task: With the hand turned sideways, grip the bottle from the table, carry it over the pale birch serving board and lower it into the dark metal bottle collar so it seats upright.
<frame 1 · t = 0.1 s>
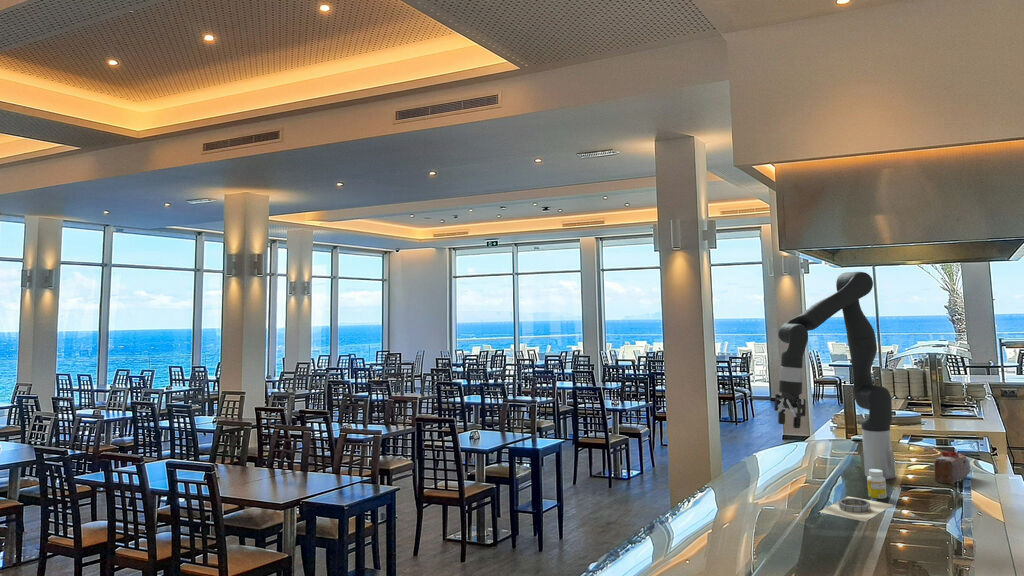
hand: (788, 426, 236), 22 cm above the counter, tool pointing down, fingers open, 8 cm apart
supplement bottle: (877, 500, 219), on the counter
food item: (952, 480, 235), on the counter
bottle collar: (854, 508, 209), resting on serving board
serving board: (856, 512, 209), on the counter
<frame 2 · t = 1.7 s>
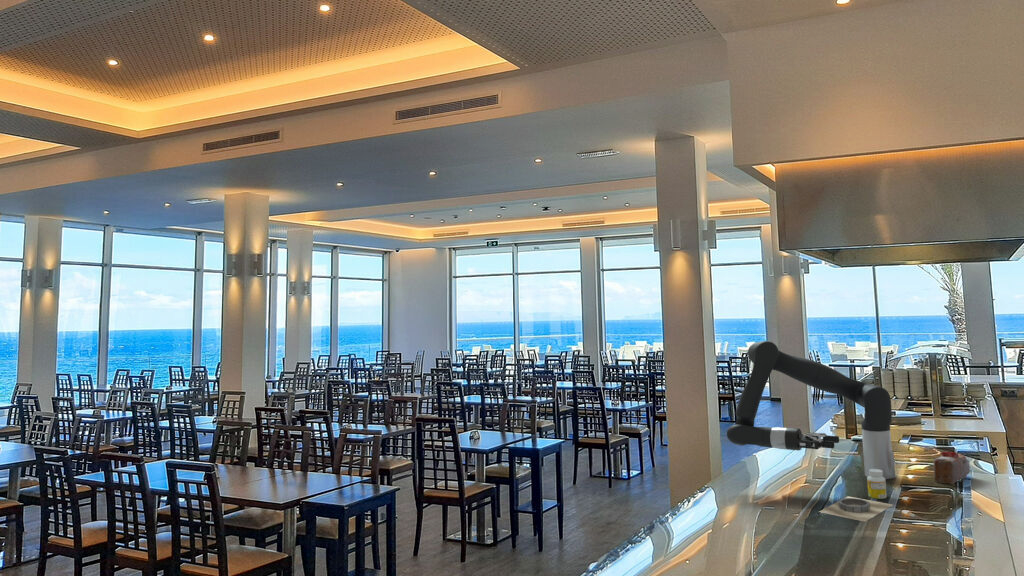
hand: (836, 442, 226), 18 cm above the counter, tool horizontal, fingers open, 8 cm apart
nothing on the counter moved.
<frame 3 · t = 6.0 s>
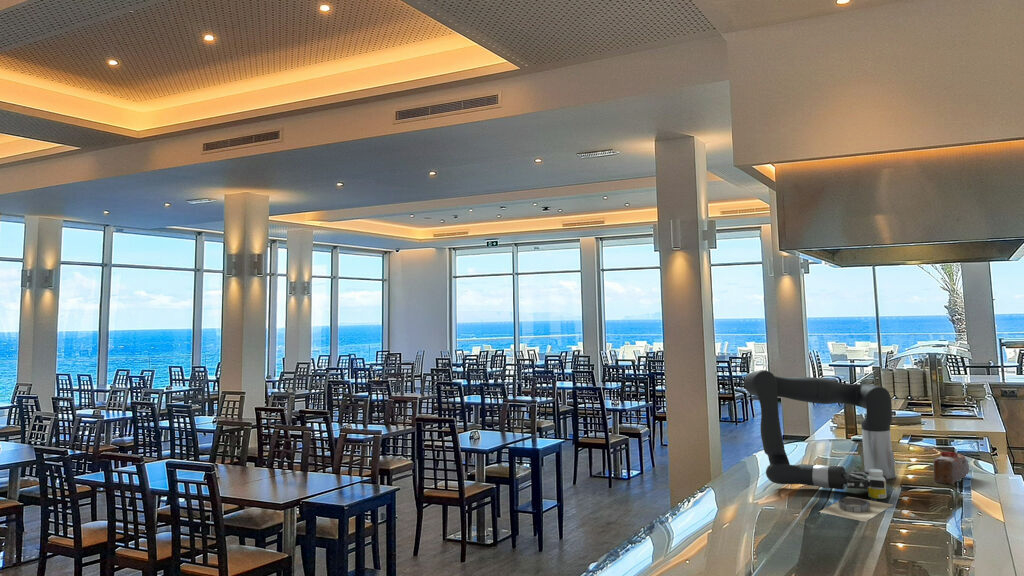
hand: (885, 482, 218), 6 cm above the counter, tool horizontal, fingers closed on supplement bottle, 5 cm apart
supplement bottle: (877, 500, 219), on the counter, touching gripper
everything else where it was.
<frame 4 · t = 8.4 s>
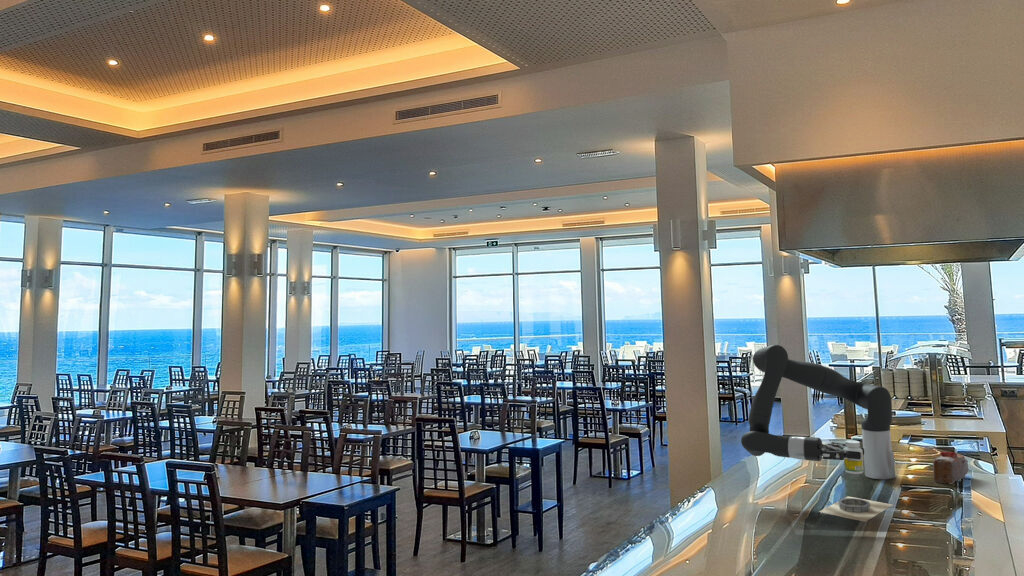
hand: (862, 453, 210), 18 cm above the counter, tool horizontal, fingers closed on supplement bottle, 5 cm apart
supplement bottle: (854, 472, 212), point 12 cm above the counter, touching gripper
everything else where it was.
when the fingers open (8 cm above the counter, at t = 10.8 s): supplement bottle stays where it is, resting on serving board.
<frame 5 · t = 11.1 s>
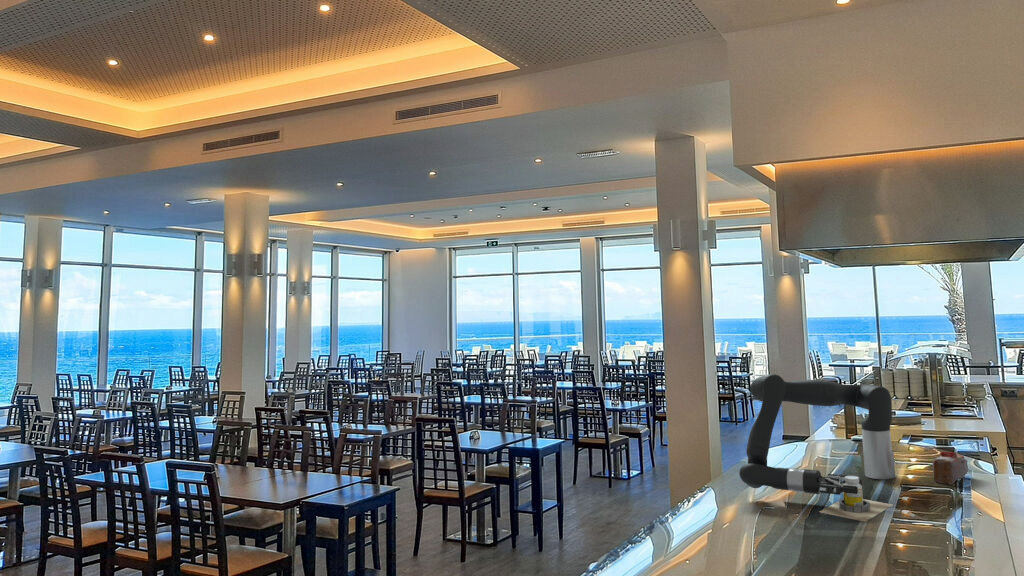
hand: (859, 486, 208), 8 cm above the counter, tool horizontal, fingers open, 8 cm apart
supplement bottle: (854, 508, 209), point 1 cm above the counter, touching serving board
everything else where it was.
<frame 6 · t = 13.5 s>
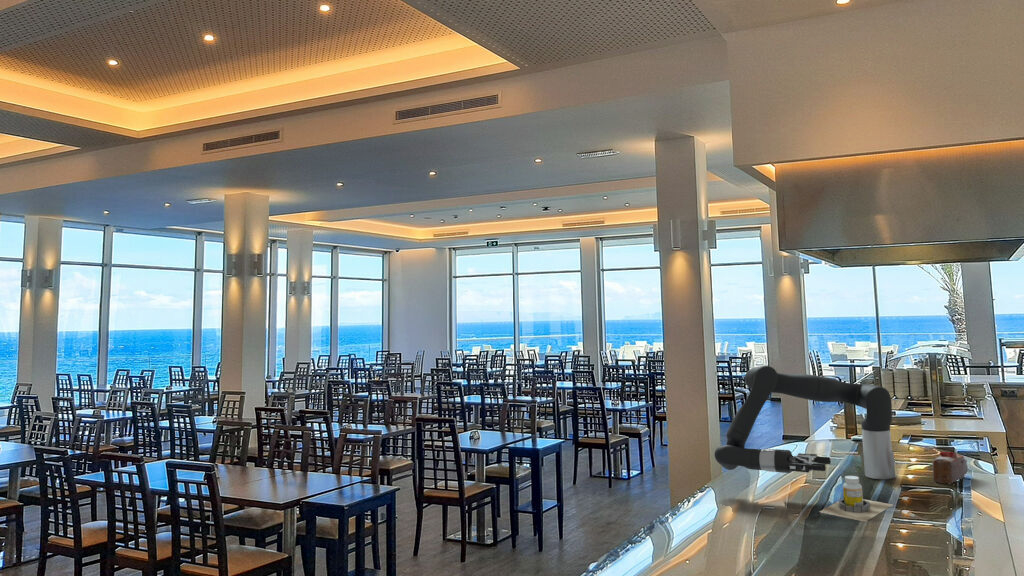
hand: (827, 464, 217), 13 cm above the counter, tool horizontal, fingers open, 8 cm apart
nothing on the counter moved.
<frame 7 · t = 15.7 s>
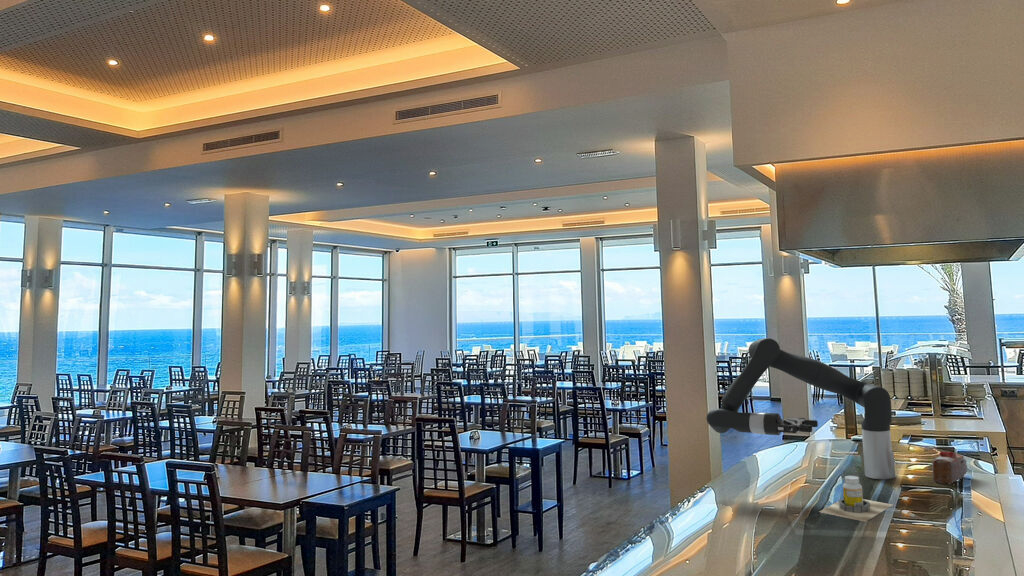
hand: (814, 426, 225), 24 cm above the counter, tool horizontal, fingers open, 8 cm apart
nothing on the counter moved.
at the end: supplement bottle 0.2 cm from the bottle collar (horizontally); supplement bottle point 1.0 cm above the counter; supplement bottle tilted 0° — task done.
